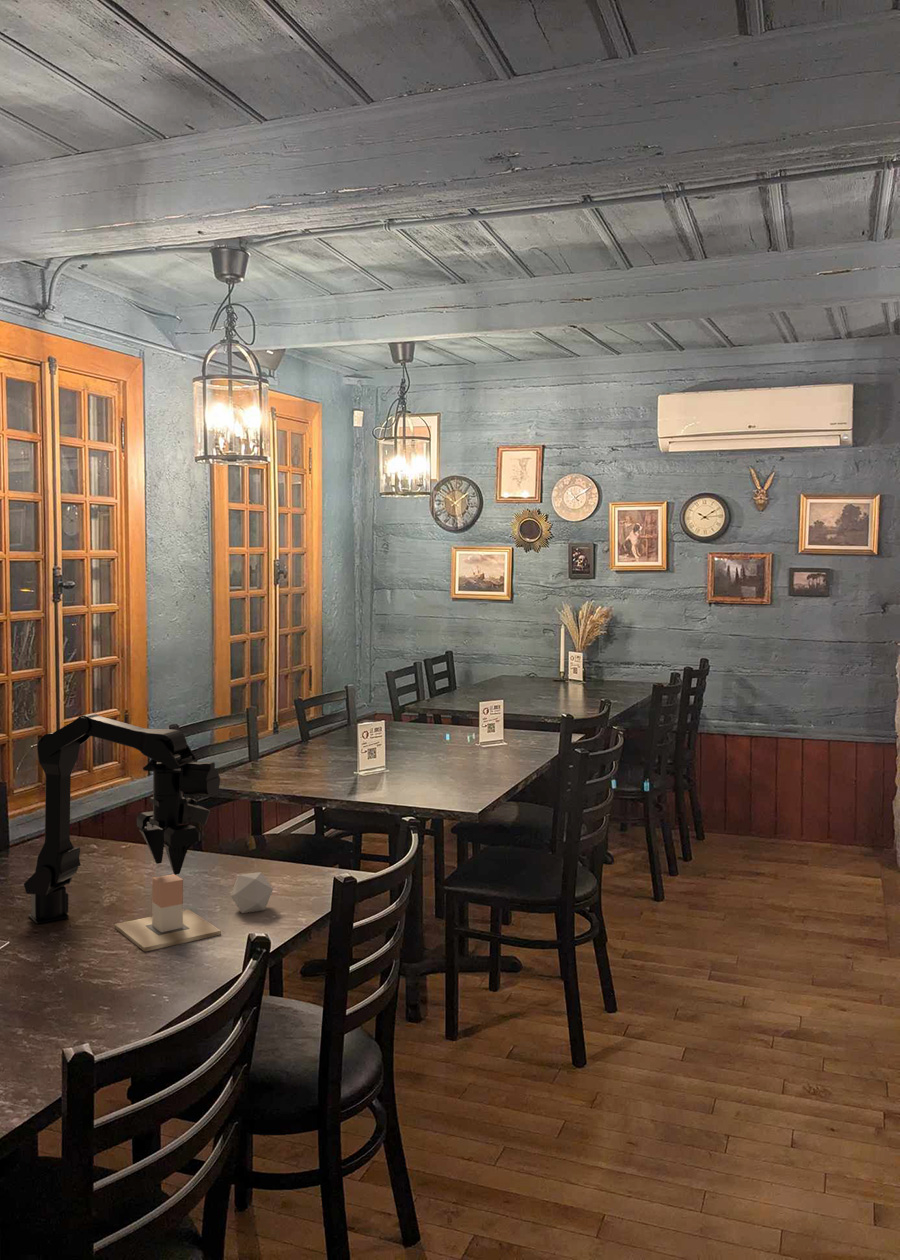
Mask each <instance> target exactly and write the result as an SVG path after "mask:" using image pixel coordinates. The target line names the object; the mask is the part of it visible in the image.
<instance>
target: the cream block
mask: <svg viewBox="0 0 900 1260" xmlns="http://www.w3.org/2000/svg"><path fill="white" fill-rule="evenodd" d="M151 903H152V904H151V906H152V907H151V909H152V910H151V913H152V914H151V917H152V926H153V927H154V928H156V929H157V930H159V931H160V932H165V931H170V930H174V929H179V928H183V910H184V903H183V904H179V905H174V906H169V907H164V908H161V907H159V906H158V905H156V904H155V903H153V901H152V902H151Z"/></svg>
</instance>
